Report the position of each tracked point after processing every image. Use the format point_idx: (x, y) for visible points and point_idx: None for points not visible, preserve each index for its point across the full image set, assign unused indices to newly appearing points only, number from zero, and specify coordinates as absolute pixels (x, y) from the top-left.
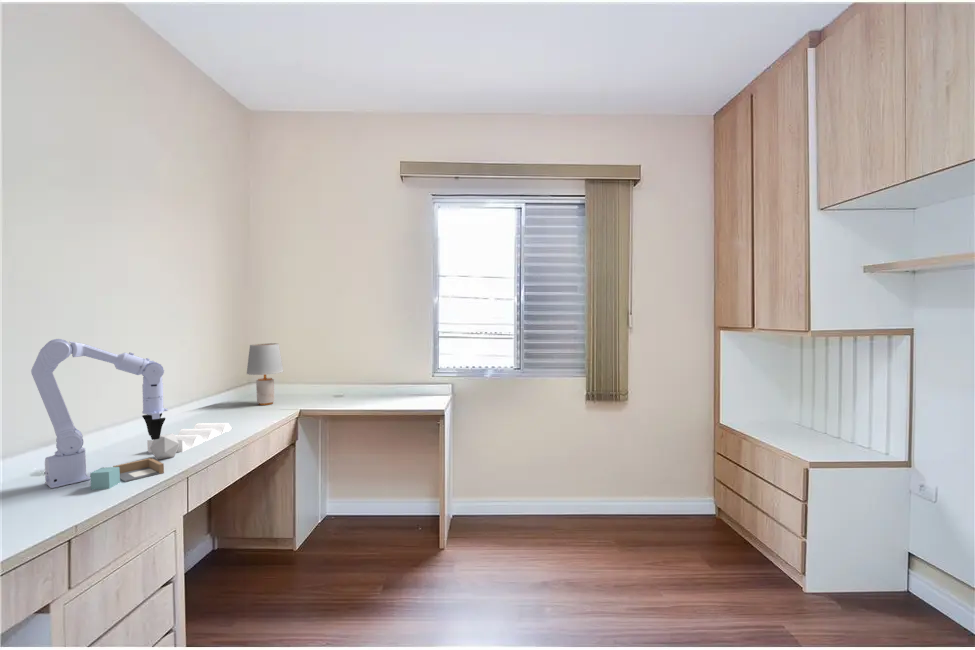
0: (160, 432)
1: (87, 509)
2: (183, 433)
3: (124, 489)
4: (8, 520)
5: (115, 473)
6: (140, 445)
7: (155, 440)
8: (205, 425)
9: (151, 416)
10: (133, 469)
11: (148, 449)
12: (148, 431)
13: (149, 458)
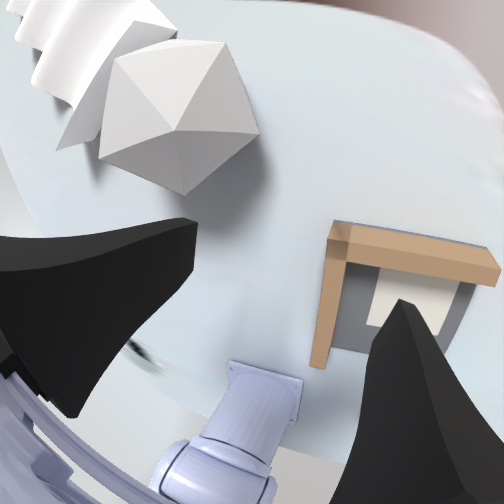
0: (437, 345)
1: (499, 433)
2: (31, 32)
3: (490, 379)
4: None
5: None
6: (34, 139)
7: (147, 169)
8: None
9: (52, 371)
10: (340, 299)
11: (86, 140)
12: (169, 295)
13: (332, 249)
